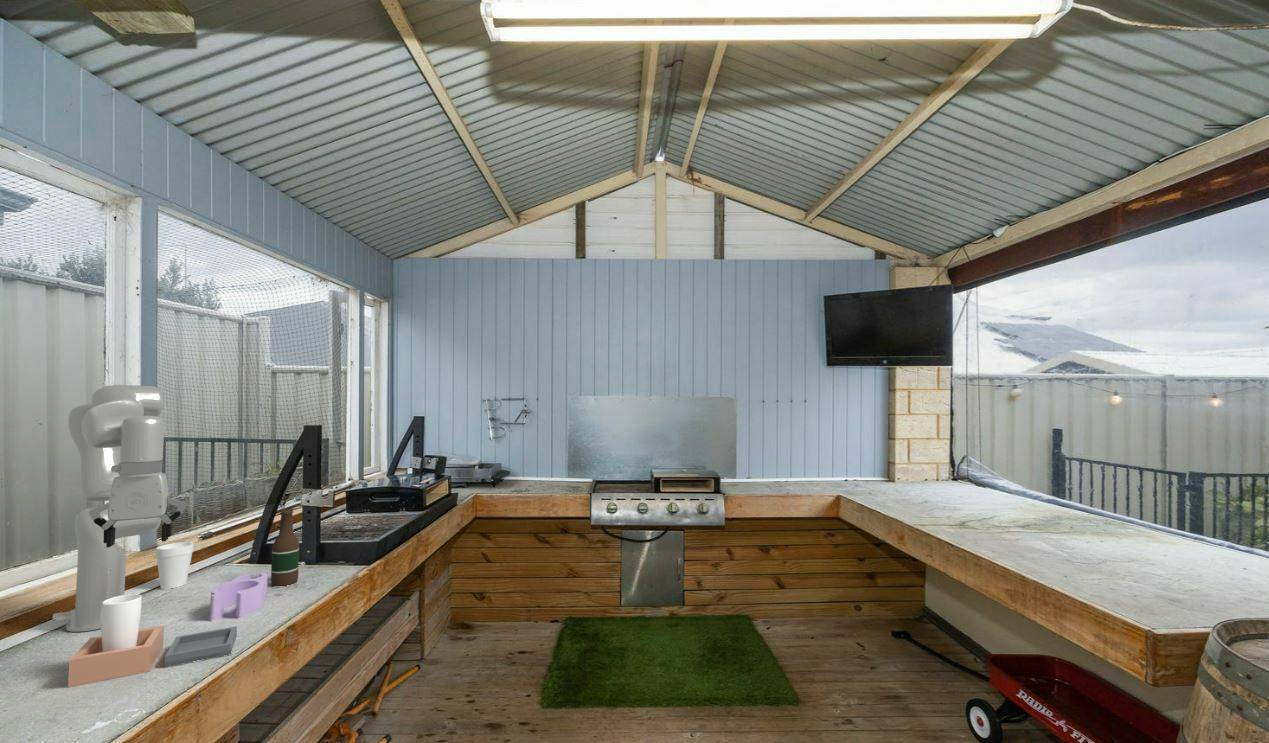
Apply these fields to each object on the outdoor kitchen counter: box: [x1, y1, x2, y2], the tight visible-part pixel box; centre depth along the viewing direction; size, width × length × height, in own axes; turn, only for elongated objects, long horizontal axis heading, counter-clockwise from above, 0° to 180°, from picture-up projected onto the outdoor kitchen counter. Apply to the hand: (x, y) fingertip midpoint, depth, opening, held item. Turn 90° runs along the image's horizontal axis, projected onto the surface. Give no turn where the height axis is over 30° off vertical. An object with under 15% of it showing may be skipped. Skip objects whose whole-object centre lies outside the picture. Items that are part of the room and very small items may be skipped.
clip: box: [209, 572, 269, 621], centre depth 160 cm, size 20×12×7 cm, turn 15°
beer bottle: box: [270, 508, 300, 587], centre depth 181 cm, size 8×8×24 cm
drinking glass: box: [100, 593, 143, 652], centre depth 124 cm, size 7×7×15 cm
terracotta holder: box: [67, 625, 165, 688], centre depth 123 cm, size 13×13×6 cm
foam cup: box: [155, 541, 195, 590], centre depth 178 cm, size 10×9×13 cm
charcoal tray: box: [164, 626, 238, 668], centre depth 131 cm, size 12×12×2 cm
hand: (138, 543), depth 127 cm, fingers open, 9 cm apart
